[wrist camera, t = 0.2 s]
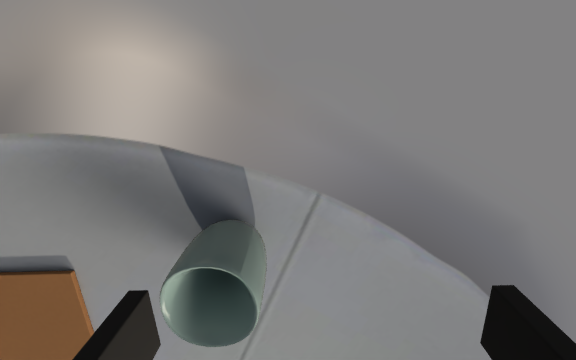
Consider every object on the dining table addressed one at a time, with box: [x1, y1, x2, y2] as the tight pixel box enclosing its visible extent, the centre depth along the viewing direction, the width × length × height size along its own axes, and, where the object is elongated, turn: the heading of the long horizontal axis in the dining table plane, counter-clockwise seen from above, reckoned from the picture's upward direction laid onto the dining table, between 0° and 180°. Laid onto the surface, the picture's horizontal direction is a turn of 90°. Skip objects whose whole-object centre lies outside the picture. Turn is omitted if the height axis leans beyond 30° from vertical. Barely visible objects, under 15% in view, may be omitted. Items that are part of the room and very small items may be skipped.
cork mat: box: [0, 271, 94, 360], centre depth 36 cm, size 18×18×1 cm
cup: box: [160, 220, 267, 347], centre depth 27 cm, size 8×8×10 cm
